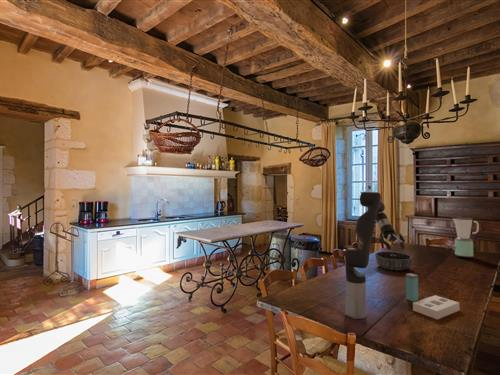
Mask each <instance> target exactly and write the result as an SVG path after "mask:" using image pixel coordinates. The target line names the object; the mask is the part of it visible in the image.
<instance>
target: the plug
mask: <svg viewBox="0 0 500 375" xmlns="http://www.w3.org/2000/svg"><path fill="white" fill-rule="evenodd" d="M405 299H406V300H408V301H411V302H412V303H414V302H417V301H419V275H418V274H415V273H412V272H411V273H409V272H408V273H406V274H405Z"/></svg>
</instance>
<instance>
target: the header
mask: <svg viewBox="0 0 500 375" xmlns="http://www.w3.org/2000/svg"><path fill="white" fill-rule="evenodd" d="M413 311H414V312H416V313H419V314H422V315H424V316H427V317H430V318H432V319H434V320H440V319H442V318H444V317H447V316H449V315H451V314H454V313H458V312H459V311H460V302H458V301H455V300H451V299H449V298H445V297H443V296H439V295H436V294H434V295H432V296H429V297H425V298H422V299H420V300H417V301H414V302H412V312H413Z"/></svg>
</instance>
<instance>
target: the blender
mask: <svg viewBox="0 0 500 375" xmlns="http://www.w3.org/2000/svg"><path fill="white" fill-rule="evenodd" d="M451 219H452V221H453V223H454V227H455V231H456V235H457V237H456V238H455V239H454V245H452V250H453V251H454V254H455V256H456V258H467V259H469V260H471V258H473V257H474V241H473V239H472V238H471V237H472V235H475V234H478V232H479V229H480V224H479V222H478V220H477V221H476V220H474V218H470V217H465V216H464V217H463V216H461V217H451ZM474 223H476V230H475V231H473V227H474Z"/></svg>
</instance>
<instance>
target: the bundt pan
mask: <svg viewBox="0 0 500 375" xmlns="http://www.w3.org/2000/svg"><path fill="white" fill-rule="evenodd" d="M374 256H375V259H376V263H377V265H378V266H379V267H380V268H382V269H385V270H390V271H393V270H394V271H401V272H402V271H406V270H408V269H410V268H411V265H412V260H413V257H412V255H410V254H408V253H403V252H397V251H390V250H388V251H382V250H381V251H377V252H375V253H374Z"/></svg>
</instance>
